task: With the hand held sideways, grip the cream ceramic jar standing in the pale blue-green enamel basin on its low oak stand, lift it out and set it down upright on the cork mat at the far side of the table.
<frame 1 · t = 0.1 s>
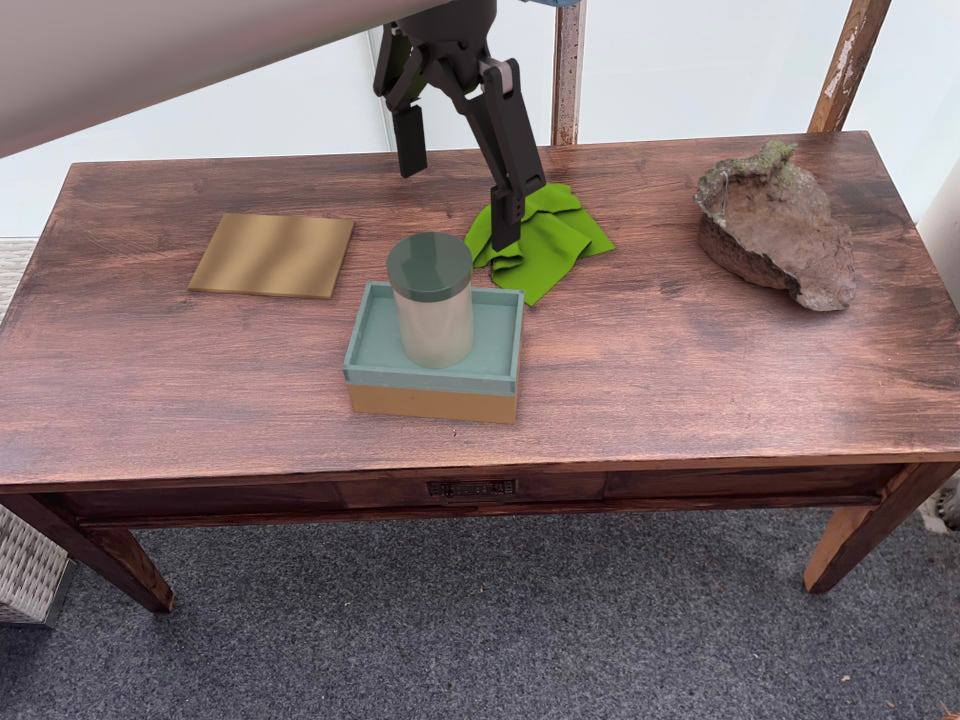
hand: (457, 206, 67), 20 cm above the table, tool pointing down, fingers open, 13 cm apart
jar: (438, 340, 76), point 6 cm above the table, touching basin
basin: (441, 372, 80), on the table
rock: (766, 255, 90), on the table
cloth: (527, 242, 93), on the table
mat: (275, 255, 93), on the table
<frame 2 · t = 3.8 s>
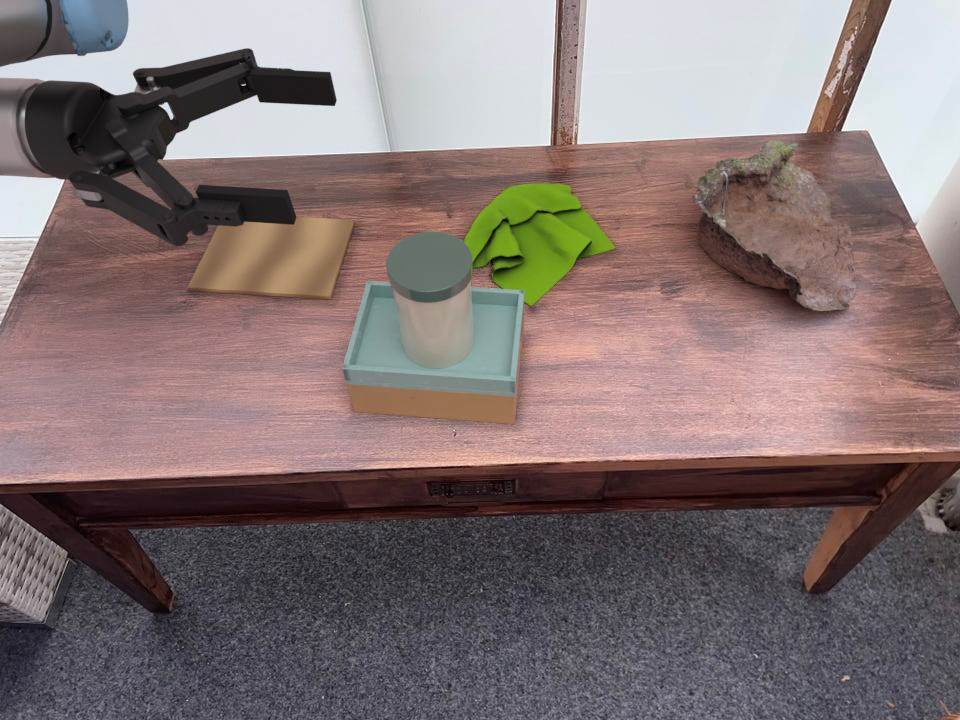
hand: (313, 144, 56), 31 cm above the table, tool horizontal, fingers open, 13 cm apart
nothing on the table moved.
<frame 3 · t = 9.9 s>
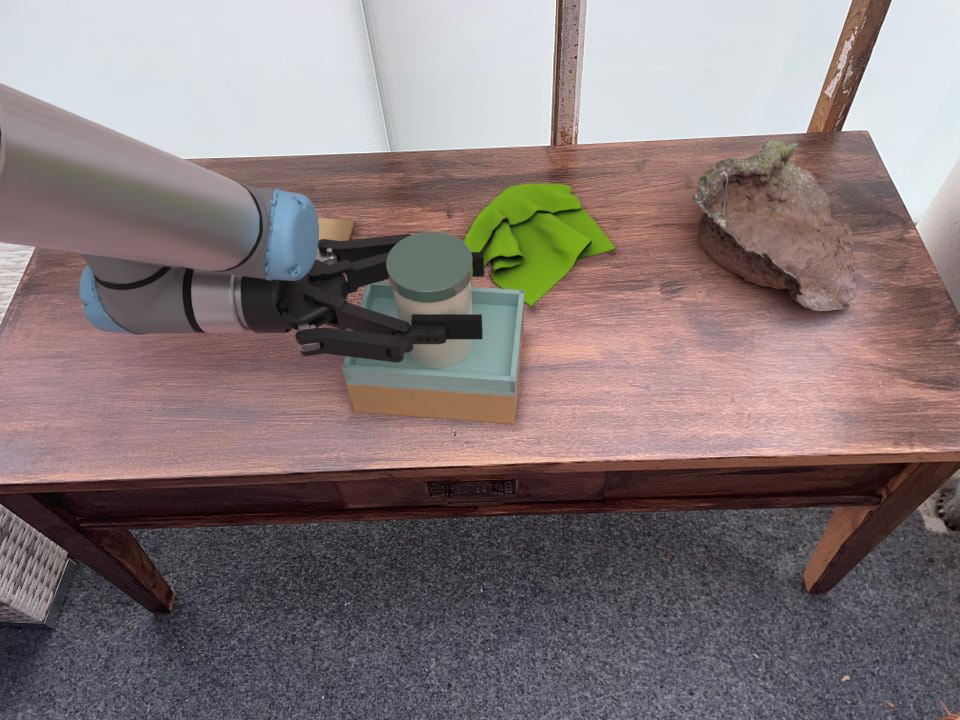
hand: (482, 294, 70), 12 cm above the table, tool horizontal, fingers closed on jar, 8 cm apart
jar: (438, 340, 76), point 6 cm above the table, touching basin, gripper
everything else where it was.
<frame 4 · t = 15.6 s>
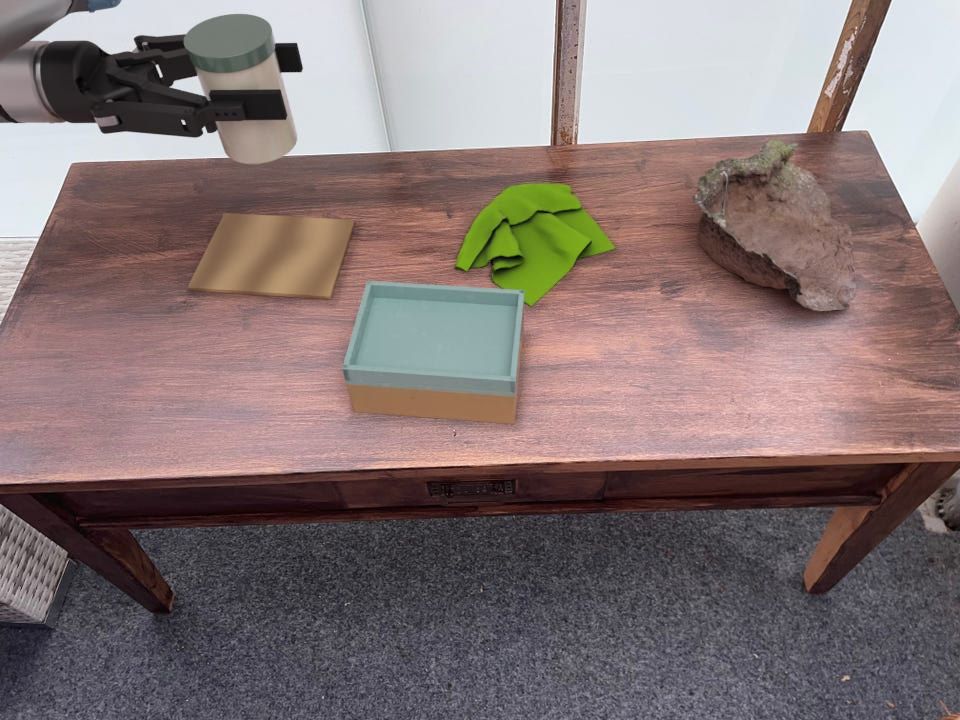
hand: (291, 80, 70), 26 cm above the table, tool horizontal, fingers closed on jar, 8 cm apart
jar: (260, 141, 75), point 19 cm above the table, touching gripper
everything else where it was.
when the fingers open (7 cm above the table, at t = 21.6 s): jar stays where it is, resting on mat.
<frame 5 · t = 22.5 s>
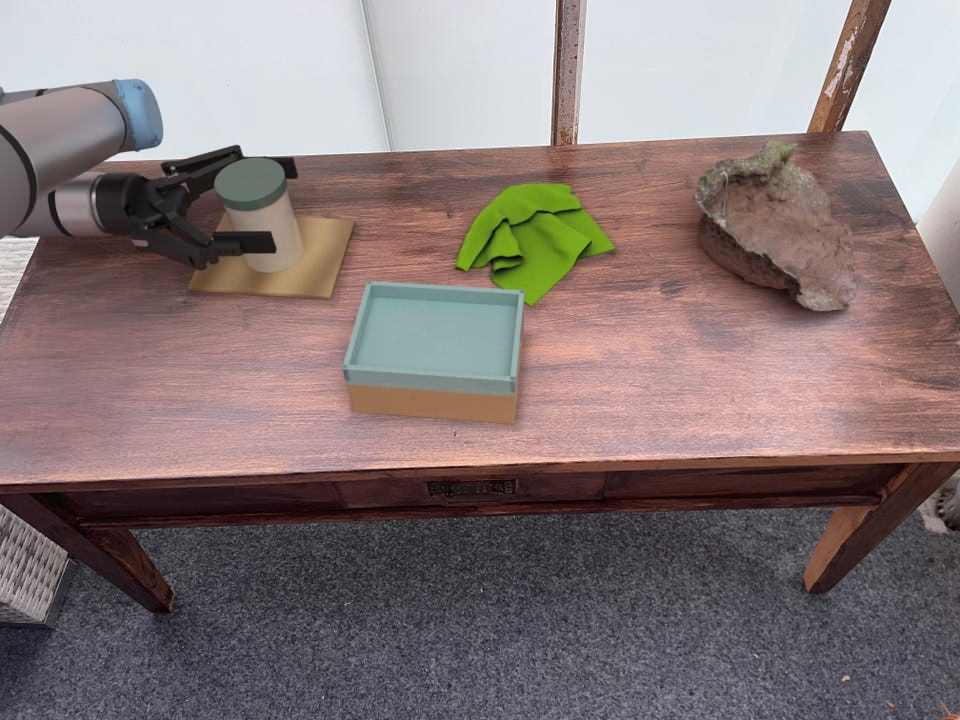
hand: (285, 203, 86), 8 cm above the table, tool horizontal, fingers open, 13 cm apart
jar: (274, 252, 92), point 1 cm above the table, touching mat
everything else where it was.
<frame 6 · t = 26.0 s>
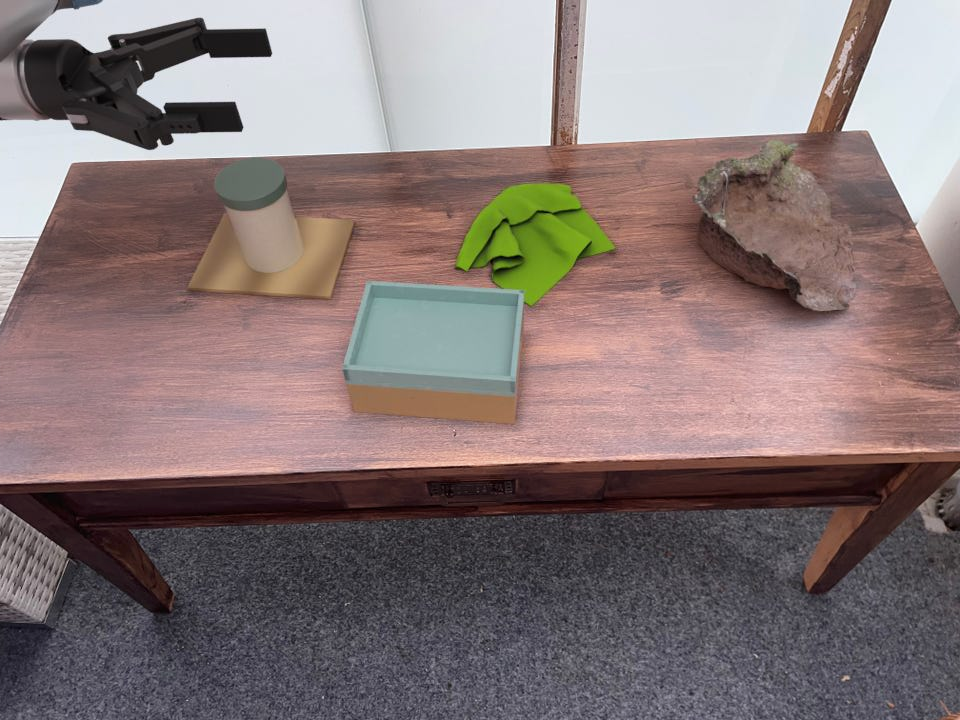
hand: (254, 77, 71), 26 cm above the table, tool horizontal, fingers open, 13 cm apart
nothing on the table moved.
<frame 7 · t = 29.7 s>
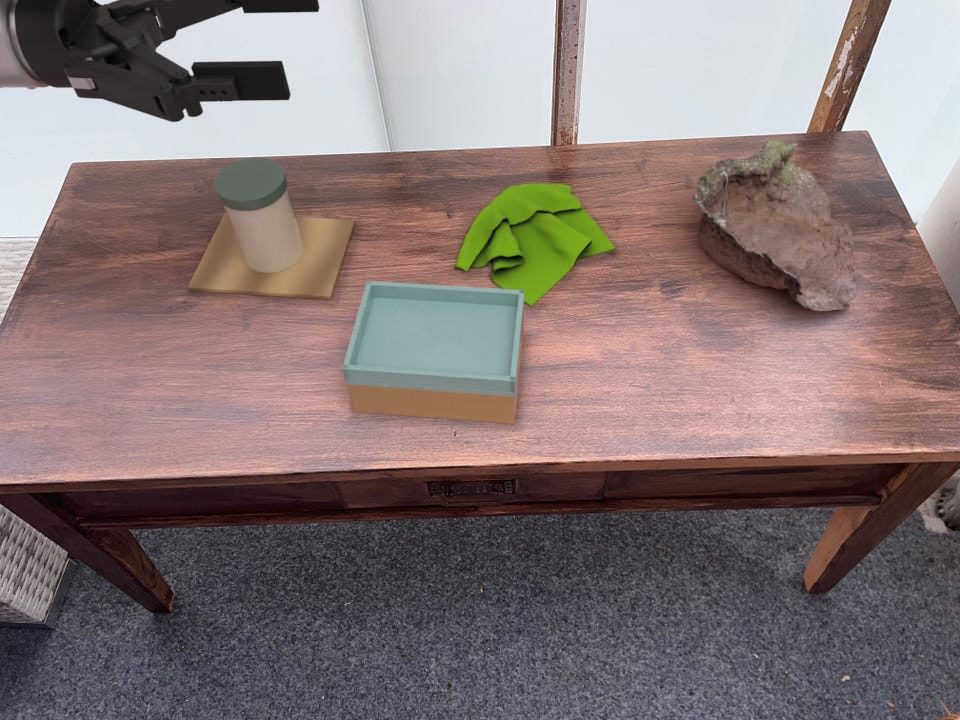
hand: (302, 34, 57), 35 cm above the table, tool horizontal, fingers open, 13 cm apart
nothing on the table moved.
at the end: jar inside the target area on the mat (0.0 cm from its centre), point 0.6 cm above the mat's base; jar tilted 0°; the gripper is holding nothing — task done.
